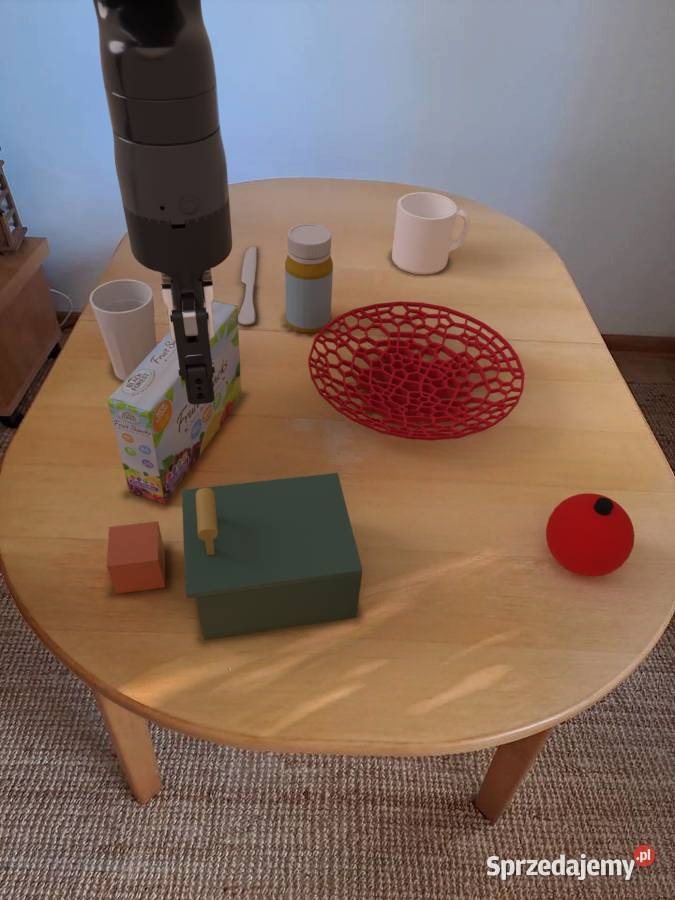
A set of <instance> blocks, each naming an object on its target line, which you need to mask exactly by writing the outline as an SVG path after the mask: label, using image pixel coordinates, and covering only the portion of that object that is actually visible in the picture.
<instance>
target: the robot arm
mask: <svg viewBox="0 0 675 900" xmlns="http://www.w3.org/2000/svg"><path fill="white" fill-rule="evenodd" d="M92 3H93V8H94V10H95V11H94V12H95V16H96V20H97V27H98V28H97V29H98V41H99V42H98V43H99V56H100V69H101V75H102V81H103V88H104V93H105V98H106V103H107V107H108V114H109V119H110V124H111V125H110V126H111V128H112V137H113V153H114V155H113V156H114V165H115V172H116V176H117V182H118V186H119V193H120V197H121V203H122V209H123V213H124V218H125V225H126V229H127V234H128V239H129V245H130V250H131V253H132V255H133V257H134V259H135V260H136V261H137V262H138V263H139V264H140V265H141V266H143V267H144V268H146V269H148V270H150V271H153V272H158V273H160V276H161V281H162V282H161V283H160V288H161V296H162V303H163V304H164V305H165V306H166V310H167V318H168V325H169V332H170V336H171V339H172V340H173V341H174V342H176V347H177V354H178V360H179V368H180V370H178V371H179V376H181V380H182V381H183V380H185V385H186V392H187V398H188V402H189V403H190V404H193V405H195V404H205V403H211V402H213V401H214V399H215V397H214V388H213V380H212V378H214V377H213V373H215V369H214V367H212V365H214V360H213V359H211V351H210V340H211V339H213V338H214V336H215V328H214V319H213V310H212V303H213V301H215V290H214V283H213V281H214V280H213V275H212V269H214V268H215V267H217V266H220V265H221V264H222V263H223V262H224V261H225V260H226V259H228V257H229V256H230V255H231V252H232V249H233V234H232V220H231V205H230V193H229V178H228V177H229V176H228V165H227V156H226V151H225V146H224V142H223V138H222V137H223V136H222V131H221V122H220V111H219V96H218V85H217V72H216V64H215V58H214V52H213V48H212V44H211V40H210V36H209V34H208V31H207V29H206V25H205V22H204V16H203V8H202V0H92ZM204 303H205V306H206V307H205V308H204ZM189 355H196V356H189Z"/></svg>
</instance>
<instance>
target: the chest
mask: <svg viewBox="0 0 675 900" xmlns="http://www.w3.org/2000/svg"><path fill="white" fill-rule="evenodd" d="M362 577H363V574H362V575H356V576H349V577H342V578H334V579H327V580H320V581H312V582H305V583H298V584H291V585H283V586H276V587H269V588H261V589H254V590H247V591H239V592H232V593H225V594H217V595H210V596H203V597H195V601H196V607H197V612H198V617H199V622H200V627H201V632H202V637H203V640H204V641H206V640H211V639H212V640H213V639H219V638H225V637H233V636H240V635H245V634H253V633H259V632H266V631H273V630H280V629H287V628H294V627H299V626H300V627H301V626H307V625H314V624H320V623H322V624H323V623H328V622H336V621H342V620H347V619H355V618H357V617H358V608H359V601H360V593H361V585H362Z"/></svg>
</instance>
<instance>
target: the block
mask: <svg viewBox="0 0 675 900" xmlns="http://www.w3.org/2000/svg"><path fill="white" fill-rule="evenodd" d="M160 527H161V526H160V525H159V521H158V520H156V521H149V522H140V523H130V524H123V525H113V526H109V527H108V537H107V557H106V568H107V571H108V574H109V577H110V579H111V582H112V585H113V588H114V591H115V594H117V595H118V594H125V593H131V592H133V593H134V592H139V591H147V590H154V589H161V588H166V558H165V557H166V551H165V550H166V549H165V545H164V540H163V536H162V533H161V532H162V531H161V528H160Z"/></svg>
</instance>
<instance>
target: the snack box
mask: <svg viewBox="0 0 675 900" xmlns="http://www.w3.org/2000/svg"><path fill="white" fill-rule="evenodd" d="M205 307H206V306H205V303H204V308H205ZM212 310H213V319H214V328H215V336H214V338H213V339H211V340H210V351H211V359H213V360H214V365H212V367H214V369H215V373H213V377H214V378H212V380H213V388H214V397H215V399H214V401H213V402H211V403H205V404H195V405H193V404H190V403H189V402H188V398H187V392H186V385H185V380H183V381H182V380H181V376H179V371H178V370H180V368H179V360H178V354H177V347H176V342H174V341H173V340H172V339H171V336H170V331H169V332H168V333H167V334H166V335H165V336H164V337H163V338H162V339H161V341H160V342H159V343H158V344H157V346H156V347H155V348H154V349H153V351H152V352H151V353H150V354H149V355H148V356H147V357H146V358H145V359H144V360H143V362H142V363H141V364H140V365H139V366H138V367H137V368H136V369H135V370H134V371H133V373H132V374H131V375H130V376H129V377H128V378H127V379H126V380H125V381H123V382H122V383H121V384H120V386H119V387H117V389H116V390H115V391H114V392H113V393H112V394H111V395H110V396H109V397H108V399H107V404H108V408H109V413H110V417H111V421H112V426H113V430H114V434H115V438H116V442H117V446H118V451H119V455H120V459H121V463H122V468H123V472H124V476H125V479H126V484H127V485H126V486H127V489H128V492H129V493H130V494H134V495H137V496H140V497H143V498H146V499H149V500H152V501H155V502H158V503H160V504H163V505H166V504H167V503H168V502H169V501H170V499H171V498H172V496H173V495H174V493H175V492H176V491H177V489H178V488H179V486H180V485H181V483H182V482H183V480H184V479H185V478H186V476H187V475H188V473H189V472H190V471H191V469H192V468H193V467H194V465H195V463H196V462H197V460H198V459H199V457H200V456H201V454H202V453H203V452H204V450H205V449H206V448H207V447H208V445H209V443H210V442H211V441H212V439H213V438H214V437H215V435H216V434H217V432H218V431H219V430H220V428H221V426H222V425H223V424H224V422H225V421H226V420H227V418H228V417H229V415H230V414H231V412H232V411H233V410H234V409H235V407H236V406H237V404H238V403H239V401H240V400H241V398H242V397H243V394H242V393H243V392H242V377H241V359H240V357H241V356H240V335H239V322H238V316H239V313H238V312H239V310H238V305H236V304H235V305H234V304H230V303H226V302H222V301H218V300H214V301H213V303H212ZM189 356H196V355H189Z"/></svg>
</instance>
